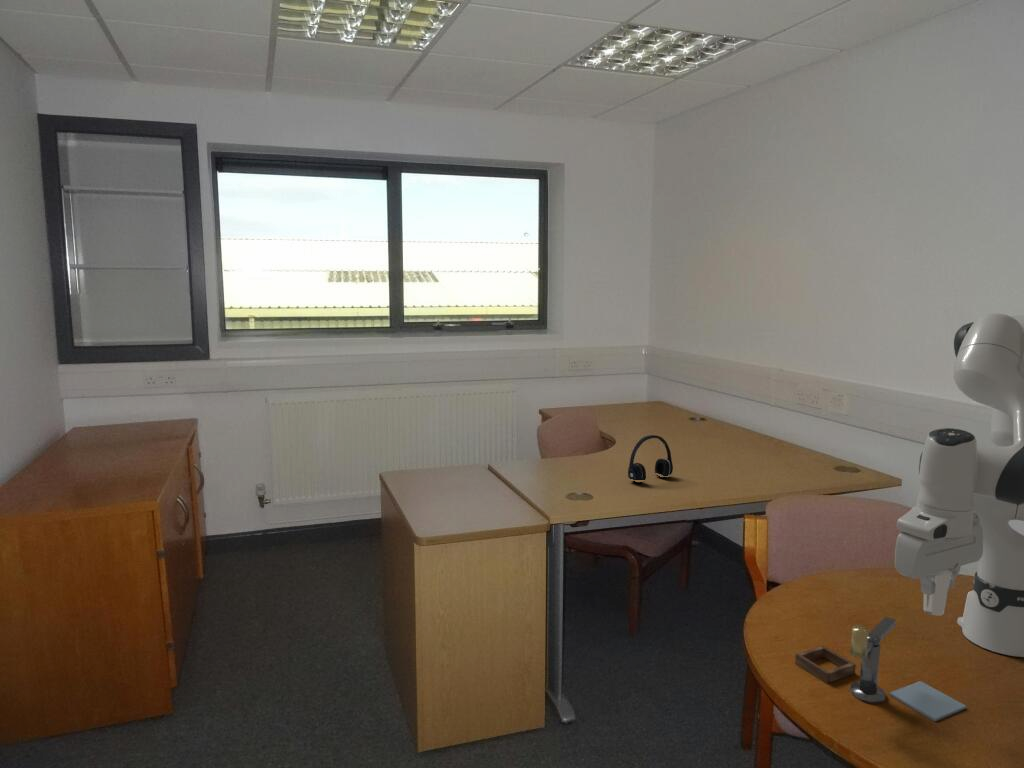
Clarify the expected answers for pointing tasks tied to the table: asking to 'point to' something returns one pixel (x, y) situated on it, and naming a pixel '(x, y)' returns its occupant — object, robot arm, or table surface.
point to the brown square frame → (827, 676)
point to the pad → (927, 701)
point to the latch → (869, 637)
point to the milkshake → (938, 593)
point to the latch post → (869, 679)
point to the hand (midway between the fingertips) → (937, 590)
